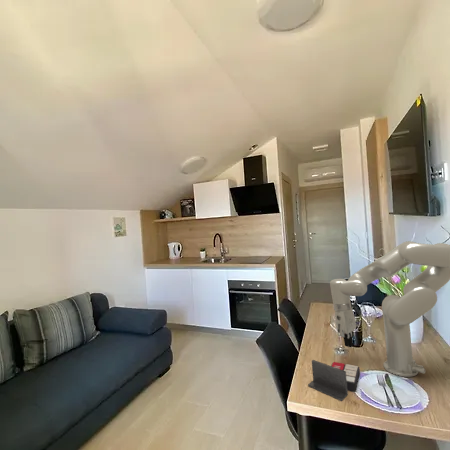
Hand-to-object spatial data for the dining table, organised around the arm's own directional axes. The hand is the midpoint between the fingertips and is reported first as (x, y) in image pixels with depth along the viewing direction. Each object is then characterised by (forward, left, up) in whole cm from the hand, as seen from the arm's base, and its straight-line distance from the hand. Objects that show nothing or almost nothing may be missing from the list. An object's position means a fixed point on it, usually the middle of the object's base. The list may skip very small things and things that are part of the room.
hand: (349, 345), depth 126 cm
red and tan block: (-3, +13, -9) cm, 16 cm away
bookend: (-2, +25, -8) cm, 26 cm away
